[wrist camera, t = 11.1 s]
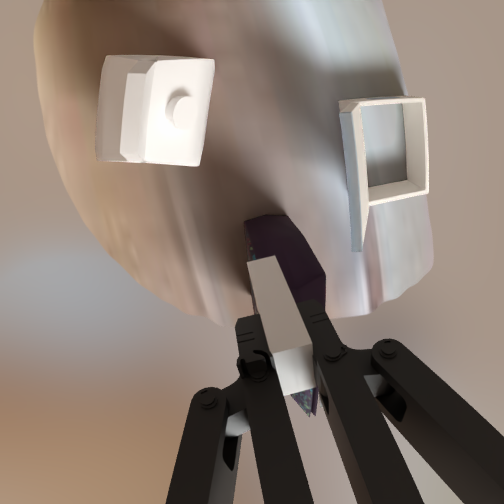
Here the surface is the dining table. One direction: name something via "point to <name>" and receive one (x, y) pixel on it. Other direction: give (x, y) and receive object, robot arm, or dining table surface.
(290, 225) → the decorative box
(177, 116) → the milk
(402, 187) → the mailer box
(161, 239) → the dining table surface
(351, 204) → the lid
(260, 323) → the robot arm
